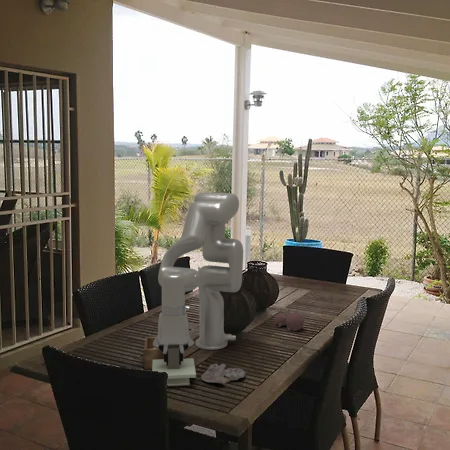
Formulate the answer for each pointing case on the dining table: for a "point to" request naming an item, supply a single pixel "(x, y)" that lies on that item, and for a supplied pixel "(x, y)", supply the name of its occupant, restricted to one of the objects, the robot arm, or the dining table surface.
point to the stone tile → (178, 381)
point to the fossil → (222, 374)
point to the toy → (290, 321)
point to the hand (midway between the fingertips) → (173, 363)
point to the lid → (175, 365)
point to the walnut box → (151, 352)
